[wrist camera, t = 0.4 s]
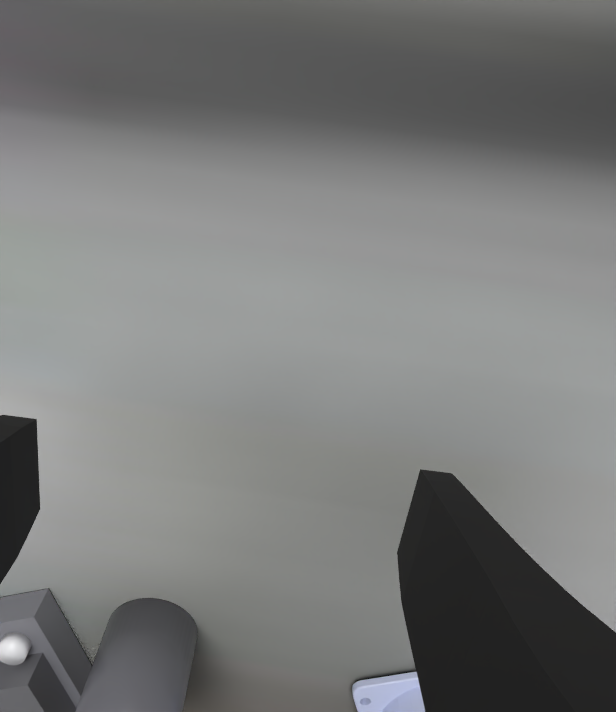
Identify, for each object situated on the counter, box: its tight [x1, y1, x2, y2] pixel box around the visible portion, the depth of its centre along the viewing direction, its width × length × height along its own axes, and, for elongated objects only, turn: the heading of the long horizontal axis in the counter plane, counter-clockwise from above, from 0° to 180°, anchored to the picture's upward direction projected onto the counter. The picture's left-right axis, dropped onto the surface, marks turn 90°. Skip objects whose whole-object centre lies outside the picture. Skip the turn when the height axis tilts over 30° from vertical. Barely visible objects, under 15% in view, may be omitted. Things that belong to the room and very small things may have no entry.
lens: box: [75, 598, 198, 712], centre depth 23 cm, size 4×4×7 cm
